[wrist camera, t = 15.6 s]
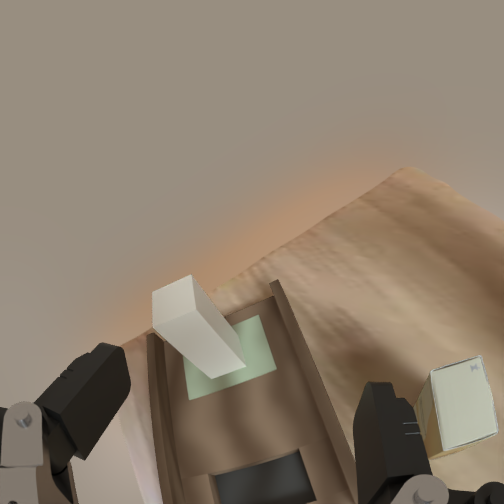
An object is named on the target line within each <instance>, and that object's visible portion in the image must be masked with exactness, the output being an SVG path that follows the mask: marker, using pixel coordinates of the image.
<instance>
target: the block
mask: <svg viewBox="0 0 504 504" xmlns="http://www.w3.org/2000/svg"><path fill="white" fill-rule="evenodd" d="M152 323H153V328H154V329H155V330H156V331H157V332H158V333H159V334H160V335H161V336H162V337H163V338H165V339H166V340H167V341H168V342H169V343H170V344H171V345H172V346H173V347H174V348H176V349H177V350H178V351H179V352H180V353H181V354H182V355H184V356H185V357H186V358H187V359H188V360H189V361H190V362H192V363H193V364H194V365H195V366H196V367H197V368H199V369H200V370H201V371H202V372H203V373H205V374H206V375H207V376H208V377H209V378H211V379H213V378H216V377H219V376H222V375H224V374H227V373H230V372H233V371H235V370H238V369H241V368H243V367H246V363H245V359H244V355H243V351H242V348H241V344H240V340H239V336H238V335H237V333H236V332H235V331H234V329H233V328H232V327H231V326H230V324H229V323H228V322H227V321H226V319H225V318H224V317H223V315H222V314H221V313H220V311H219V310H218V309H217V308H216V306H215V305H214V304H213V302H212V301H211V300H210V298H209V297H208V296H207V294H206V293H205V292H204V290H203V289H202V288H201V286H200V285H199V284H198V282H197V281H196V280H195V279H194V277H193V276H192V274H191V275H188V276H186V277H184V278H182V279H179V280H178V281H175V282H173V283H171V284H168V285H166V286H164V287H162V288H160V289H157V290H155V291H153V292H152Z"/></svg>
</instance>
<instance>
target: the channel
mask: <svg viewBox="0 0 504 504" xmlns="http://www.w3.org/2000/svg"><path fill="white" fill-rule="evenodd" d="M269 284H270V287H271V289H272V292H273V294H274V296H272V297H270V298H267V299H265V300H263V301H261V302H258V303H256V304H254V305H251V306H249V307H247V308H244V309H242V310H240V311H237V312H235V313H233V314H230V315H228V316H226V317H224V318H225V319H226V321H227V322H228V323H229V324H230V326H231V327H232V328H233V329H234V331H235V332H236V333H237V335H238V336H239V340H240V344H241V348H242V351H243V355H244V359H245V363H246V367H243V368H241V369H238V370H235V371H233V372H230V373H227V374H224V375H222V376H219V377H216V378H213V379H211V378H209V377H208V376H207V375H206V374H205V373H203V372H202V371H201V370H200V369H199V368H197V367H196V366H195V365H194V364H193V363H192V362H190V361H189V360H188V359H187V358H186V357H185V356H184V355H182V354H181V353H180V352H179V351H178V350H177V349H176V348H174V347H173V346H172V345H171V344H170V343H169V342H168V341H163V340H162V339H160V338H159V337H158V336H157V335H156V334H155V333H151V334H149V335H147V361H148V379H149V394H150V407H151V418H152V428H153V437H154V445H155V453H156V461H157V468H158V475H159V481H160V488H161V494H162V499H163V504H358V490H357V474H356V462H355V460H354V457H353V455H352V452H351V450H350V447H349V445H348V443H347V440H346V438H345V435H344V433H343V430H342V428H341V425H340V423H339V421H338V418H337V416H336V413H335V411H334V408H333V406H332V404H331V401H330V399H329V396H328V394H327V392H326V389H325V387H324V384H323V382H322V380H321V377H320V375H319V372H318V370H317V368H316V365H315V363H314V361H313V358H312V356H311V353H310V351H309V349H308V346H307V344H306V342H305V339H304V337H303V335H302V332H301V330H300V327H299V325H298V323H297V320H296V318H295V316H294V313H293V311H292V309H291V306H290V304H289V302H288V299H287V297H286V295H285V293H284V291H283V289H282V287H281V284H280V282H279V280H276V281H273V282H271V283H269Z"/></svg>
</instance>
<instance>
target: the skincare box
mask: <svg viewBox="0 0 504 504" xmlns="http://www.w3.org/2000/svg"><path fill="white" fill-rule="evenodd" d="M413 409H414V412H415V415H416V418H417V421H418V422H417V424H418V425H419V428H420V431H421V432H420V435H422V438H423V442H424V445H425V449H426V453H427V456H428V460H429V461H430V460H434V459H438V458H441V457H445V456H448V455H451V454H454V453H457V452H459V451H462V450H464V449H466V448H468V447H471V446H473V445H475V444H477V443H479V442H482V441H484V440H486V439H488V438H490V437H492V436H494V435H496V434H497V433H498V431H499V429H498V424H497V418H496V413H495V408H494V403H493V397H492V392H491V389H490V385H489V382H488V378H487V374H486V370H485V366H484V363H483V360H482V356H481V355H478V356H475V357H472V358H469V359H465V360H462V361H459V362H455V363H452V364H449V365H445V366H442V367H439V368H437V369H433V370H431V371H430V373H429V376H428V378H427V380H426V382H425V385H424V387H423V389H422V391H421V393H420V395H419V397H418V399H417V401H416V403H415V405H414V407H413Z"/></svg>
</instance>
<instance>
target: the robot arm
mask: <svg viewBox="0 0 504 504" xmlns="http://www.w3.org/2000/svg"><path fill="white" fill-rule="evenodd" d="M130 387H131V380H130V376H129V371H128V367H127V363H126V358H125V353H124V350H123V349H122V348H121V347H118V346H115V345H110V344H107V343H100V344H99V345H97V347H96V348H95V349H94V350H93V351H92V352H91V353H86V354H84V355H82V356H80V357H78V358H76V359H75V360H74V361H73V362H72V363H71V364H70V365H69V366H68V367H67V370H64V371H63V372H62V373H61V374H60V377H58V378H57V379H56V380H55V381H54V382H53V383H52V384H51V385H50V386H49V387H48V388H47V389H46V390H45V391H44V393H43V394H42V395H41V396H40V397H39V398H38V399H37V400H36V401H35V402H34V403H31V402H19V403H16V404H14V405H12V406H11V407H10V408H9V409H7V408H2V407H0V504H79V503H78V499H77V494H76V489H75V483H74V478H73V472H72V466H71V463H70V459H71V458H72V456H73V455H74V456H76V457H78V458H80V459H83V460H86V458H87V457H88V455H89V454H90V452H91V451H92V449H93V447H94V446H95V444H96V443H97V442H98V440H99V438H100V437H101V435H102V434H103V432H104V431H105V429H106V428H107V426H108V425H109V423H110V422H111V420H112V419H113V417H114V416H115V414H116V413H117V411H118V410H119V408H120V407H121V405H122V404H123V402H124V401H125V400H126V398H127V396H128V394H129V392H130ZM417 422H418V421H417V418H416V415H415V412H414V409H413V408H412V406H411V405H410V404H409V403H408V402H407V401H406V399H405V398H396V396H395V393H394V389H393V386H392V384H391V383H390V382H368V383H367V384H366V386H365V388H364V391H363V394H362V397H361V400H360V402H359V405H358V408H357V411H356V413H355V417H354V422H353V437H354V448H355V461H356V474H357V490H358V504H504V484H502V483H500V482H489V483H486V484H484V485H483V486H482V487H480V488H479V489H478V490H477V491H476V492H469V491H458V490H451V489H448V488H447V486H446V485H445V483H444V482H443V481H442V480H440V479H439V478H437V477H435V476H433V474H432V472H431V468H430V464H429V460H428V456H427V453H426V449H425V445H424V442H423V438H422V435H420V432H421V431H420V428H419V425H418V424H417Z"/></svg>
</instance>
